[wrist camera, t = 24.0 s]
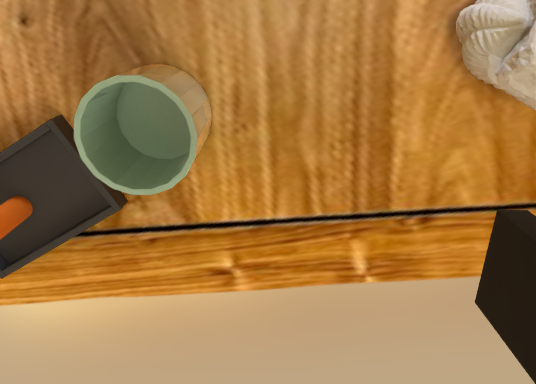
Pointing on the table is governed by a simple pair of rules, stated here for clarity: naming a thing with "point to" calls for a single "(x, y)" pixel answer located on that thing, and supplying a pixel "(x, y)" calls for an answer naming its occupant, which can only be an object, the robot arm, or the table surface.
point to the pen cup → (142, 128)
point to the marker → (13, 213)
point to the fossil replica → (501, 45)
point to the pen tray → (50, 193)
